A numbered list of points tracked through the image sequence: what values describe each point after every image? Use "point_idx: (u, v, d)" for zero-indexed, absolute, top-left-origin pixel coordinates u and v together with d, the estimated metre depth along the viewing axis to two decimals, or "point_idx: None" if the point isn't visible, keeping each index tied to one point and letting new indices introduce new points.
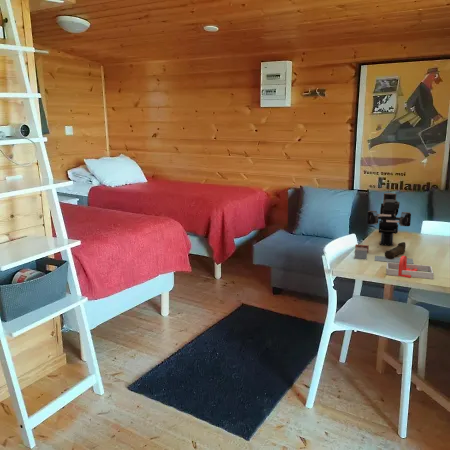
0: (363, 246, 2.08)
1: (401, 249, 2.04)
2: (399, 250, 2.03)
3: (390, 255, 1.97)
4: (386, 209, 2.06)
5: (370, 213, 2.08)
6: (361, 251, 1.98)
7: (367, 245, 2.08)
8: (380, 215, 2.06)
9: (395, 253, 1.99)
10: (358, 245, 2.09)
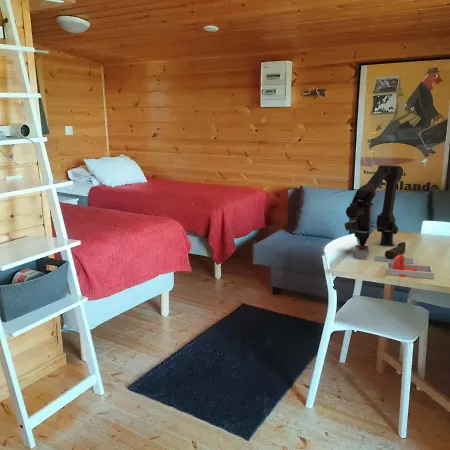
0: (363, 246, 2.07)
1: (401, 249, 2.04)
2: (399, 250, 2.03)
3: (390, 255, 1.97)
4: None
5: None
6: (361, 251, 1.98)
7: None
8: None
9: (395, 253, 1.99)
10: (358, 245, 2.08)
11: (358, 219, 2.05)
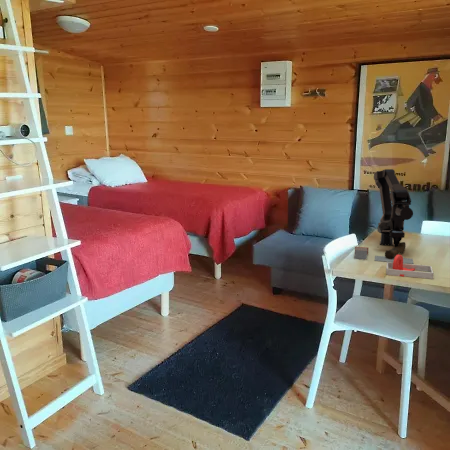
0: None
1: (401, 249, 2.04)
2: (399, 250, 2.03)
3: (390, 255, 1.97)
4: None
5: None
6: (361, 251, 1.98)
7: (367, 247, 2.04)
8: None
9: (395, 253, 1.99)
10: None
11: (392, 219, 2.07)
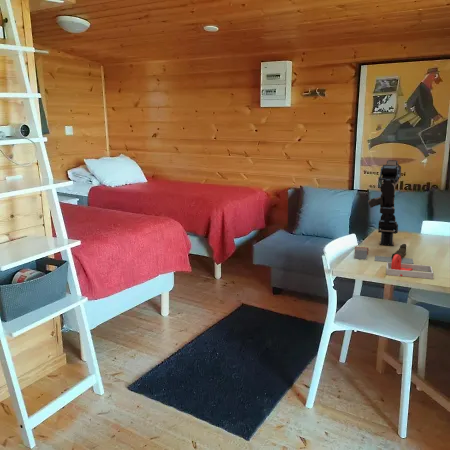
0: None
1: (404, 251, 2.01)
2: (403, 252, 1.99)
3: None
4: None
5: None
6: (361, 251, 1.98)
7: (367, 247, 2.04)
8: None
9: (401, 256, 1.95)
10: None
11: (383, 195, 2.02)
